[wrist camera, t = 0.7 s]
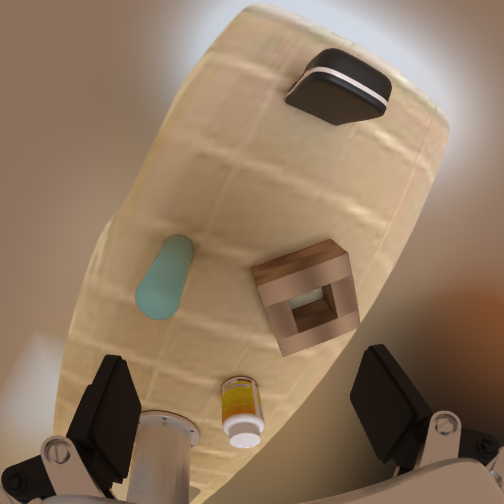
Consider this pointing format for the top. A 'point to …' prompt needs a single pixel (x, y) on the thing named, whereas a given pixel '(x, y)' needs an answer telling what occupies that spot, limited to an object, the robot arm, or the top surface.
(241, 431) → the supplement bottle
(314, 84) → the battery charger
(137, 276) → the top surface
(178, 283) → the dowel
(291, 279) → the socket block
